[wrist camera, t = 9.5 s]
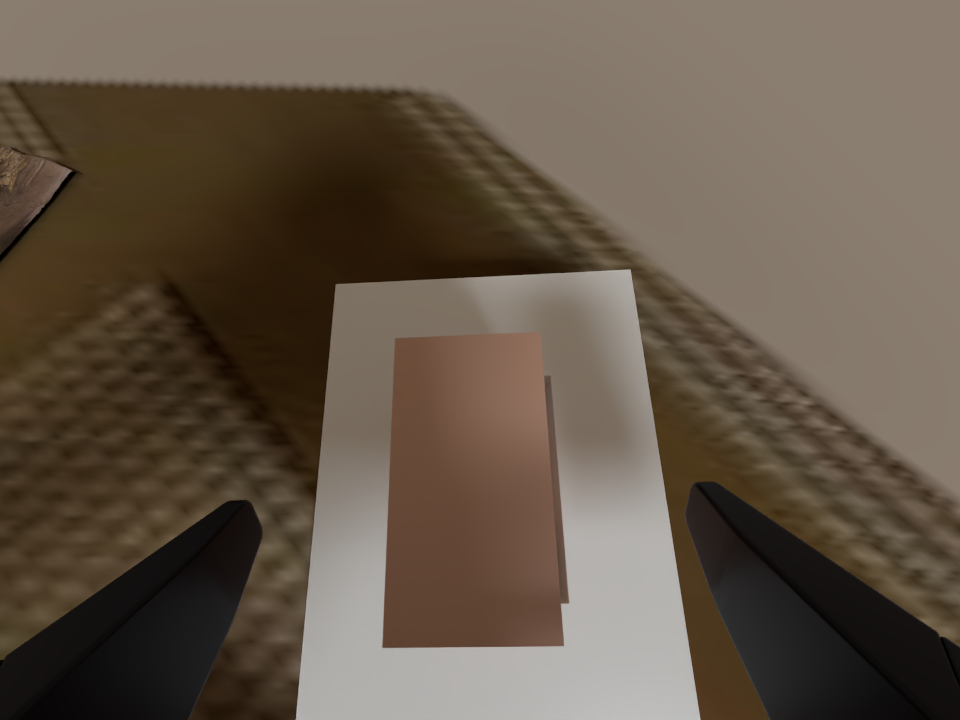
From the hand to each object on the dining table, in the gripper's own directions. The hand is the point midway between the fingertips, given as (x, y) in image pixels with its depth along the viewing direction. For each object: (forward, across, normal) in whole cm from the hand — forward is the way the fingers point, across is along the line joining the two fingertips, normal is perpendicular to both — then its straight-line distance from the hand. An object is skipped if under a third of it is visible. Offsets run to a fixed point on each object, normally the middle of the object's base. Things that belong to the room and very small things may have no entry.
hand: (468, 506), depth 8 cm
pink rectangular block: (+7, 0, +6) cm, 9 cm away
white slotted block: (+8, 0, +7) cm, 10 cm away
